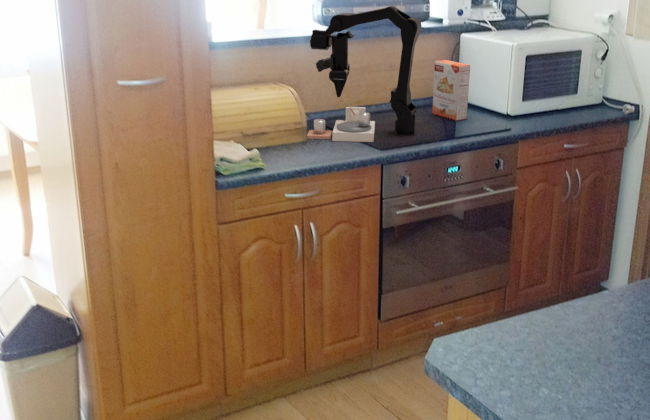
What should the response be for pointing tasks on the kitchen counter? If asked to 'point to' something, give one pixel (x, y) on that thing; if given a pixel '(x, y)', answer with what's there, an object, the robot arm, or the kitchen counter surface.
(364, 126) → the cylinder
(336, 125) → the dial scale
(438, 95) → the cracker box
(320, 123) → the cylinder
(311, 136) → the rubber mat
